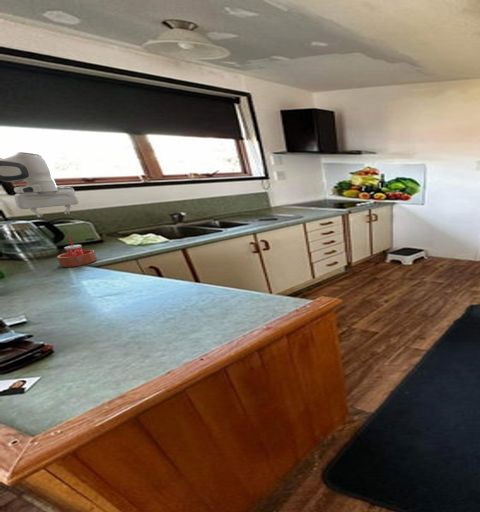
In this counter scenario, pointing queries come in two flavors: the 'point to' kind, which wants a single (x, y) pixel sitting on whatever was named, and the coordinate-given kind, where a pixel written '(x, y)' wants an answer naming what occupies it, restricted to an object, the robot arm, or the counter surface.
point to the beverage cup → (74, 249)
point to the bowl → (77, 259)
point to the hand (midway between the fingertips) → (54, 215)
